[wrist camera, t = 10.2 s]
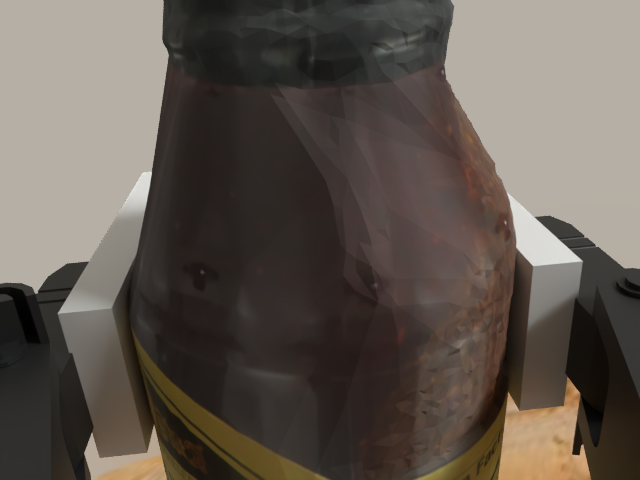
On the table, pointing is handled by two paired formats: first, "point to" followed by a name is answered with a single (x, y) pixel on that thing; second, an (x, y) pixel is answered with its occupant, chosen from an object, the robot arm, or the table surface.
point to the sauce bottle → (321, 249)
